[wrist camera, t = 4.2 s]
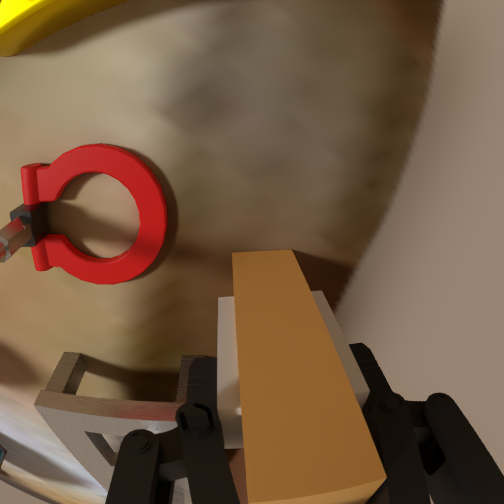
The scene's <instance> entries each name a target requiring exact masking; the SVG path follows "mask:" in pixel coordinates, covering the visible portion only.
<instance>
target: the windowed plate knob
mask: <svg viewBox="0 0 504 504" xmlns="http://www.w3.org/2000/svg"><path fill="white" fill-rule="evenodd" d="M195 358H204V356H182V359H181V366H180V374H179V381H178V389H177V398H176V402H148V401H130V400H116V399H105V398H95V397H86V396H78V395H76V392H77V390H78V387H79V385H80V382H81V380H82V377H83V375H84V373H85V370H86V368H87V367H86V365H85V363H84V361H83V359H82V357H81V354H80V353H69V352H64V353H63V355H62V357H61V359H60V361H59V362H58V364H57V366H56V368H55V370H54V372H53V374H52V376H51V378H50V380H49V382H48V385H47V387H46V389H45V390H40V392H39V394H38V396H37V399H36V401H35V403H34V406H35V408H36V409H37V410H38V412H39V413H40V414H41V416H42V417H43V419H44V420H45V421H46V423H47V424H48V425H49V427H50V428H51V429H52V430H53V432H54V433H55V434H56V435H57V437H58V438H59V439H60V440H61V442H62V443H63V444H64V445H65V446H66V448H67V449H68V450H69V451H70V452H71V453H72V455H73V456H74V457H75V458H76V459H77V460H78V461H79V462H80V463H81V465H82V466H83V467H84V468H85V469H86V470H87V471H88V472H89V473H90V474H91V475H92V476H93V477H94V478H95V479H96V480H97V481H98V482H99V483H100V484H101V485H102V486H103V487H104V488H105V489H106V490H107V491H109V487H110V483H111V479H112V475H113V471H114V468H115V464H116V460H117V457H118V452H113V450H112V449H111V447H110V446H109V445H108V443H107V442H106V440H105V439H104V437H103V436H102V434H108V435H115V436H116V437H117V439H118V440H119V442H120V443H121V442H122V440H123V438H124V436H125V435H126V434H128V433H129V432H130V431H133V430H136V429H146V430H149V431H151V432H152V433H154V434H158V433H162V432H166V431H169V430H172V429H174V428H176V427H177V426H178V425H177V422H176V420H175V415H176V411H177V410H178V408H179V407H180V406H181V405H183V404H184V403H185V402H186V394H187V386H188V385H187V384H188V374H189V366H190V365H191V363H192V362H193V360H194V359H195ZM172 504H192V501H191V496H190V490H189V485H188V479H187V477H186V478H182V479H178V480H175V486H174V493H173V501H172Z"/></svg>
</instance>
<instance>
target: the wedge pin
mask: <svg viewBox="0 0 504 504" xmlns="http://www.w3.org/2000/svg"><path fill="white" fill-rule="evenodd" d="M232 265H233V286H234V305H235V323H236V340H237V357H238V373H239V388H240V402H241V416H242V430H243V443H244V455H245V468H246V480H247V491H248V503H249V504H365V503H366V501H367V500H368V499H369V498H370V497H371V496H372V495H373V494H374V492H375V491H376V490H377V489H378V488H379V487H380V485H381V484H382V483H383V482H384V481H385V479H386V478H387V476H386V474H385V471H384V468H383V466H382V463H381V460H380V458H379V455H378V452H377V450H376V447H375V444H374V442H373V439H372V437H371V434H370V432H369V429H368V426H367V424H366V421H365V419H364V416H363V414H362V411H361V409H360V406H359V404H358V401H357V399H356V396H355V394H354V391H353V389H352V386H351V384H350V382H349V379H348V377H347V374H346V372H345V370H344V367H343V365H342V362H341V360H340V358H339V355H338V353H337V351H336V348H335V346H334V343H333V341H332V339H331V336H330V334H329V332H328V329H327V327H326V325H325V323H324V320H323V318H322V316H321V313H320V311H319V309H318V307H317V304H316V302H315V300H314V298H313V295H312V293H311V291H310V289H309V286H308V284H307V282H306V280H305V277H304V275H303V273H302V271H301V269H300V266H299V264H298V262H297V260H296V258H295V256H294V253H293V251H292V250H272V251H253V252H233V253H232Z"/></svg>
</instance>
